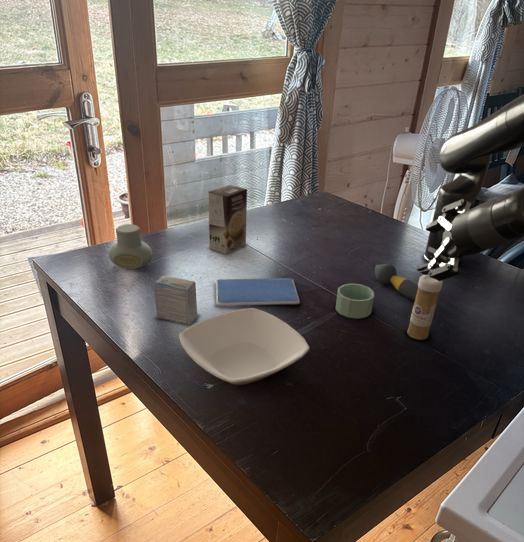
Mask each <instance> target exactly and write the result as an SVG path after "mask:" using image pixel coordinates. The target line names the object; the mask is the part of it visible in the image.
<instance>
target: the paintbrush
mask: <svg viewBox="0 0 524 542" xmlns="http://www.w3.org/2000/svg"><path fill="white" fill-rule="evenodd" d="M397 272H398V271H397V269H396V267H395V266H393V265H392V264H390V263H381V264H375V267H374V274H375V278H376V280H377V281H378V282H379V283H380V284H383V285H389V284H392V285H393V287H394V288H395V289H396V290H397V291H398V292H399V294H401V295H402V296H404V297H406V298H408V299H410V300H411V301H413V302H415V299H416V295H417V291H418V284H416V283H415V282H414V281H412V280H410V279H408V278H406V277H403V276H399V275H398V273H397Z"/></svg>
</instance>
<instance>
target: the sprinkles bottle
mask: <svg viewBox="0 0 524 542" xmlns="http://www.w3.org/2000/svg"><path fill="white" fill-rule="evenodd" d="M443 283H444V280H442V281H438V280H436V279H433V278H430V277H428V275H424V274H422V275H421V276H420V277H419V280H418V283H417V286H418V291H417V295H416V299H415V301H414V303H413V307H412V310H411V315H410V320H409V324H408V328H407V331H406V333H407V335H408V336H409V337H410V338H412V339H414V340H419V341H421V340H423V341H424V340H425V339H428V337H429V334H430V333H429V332H430V328H431V325H432V322H433V319H434V314H435V312H436V308H437V304H438V298H439V295H440V292H441V291H442V287H443Z"/></svg>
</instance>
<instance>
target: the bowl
mask: <svg viewBox="0 0 524 542" xmlns="http://www.w3.org/2000/svg"><path fill="white" fill-rule="evenodd" d="M178 338H179V342H180V345H181V346H182V349H184V351H185V352H186V354H187V355H188V356H189V357H190V358H191V360H193V361H194V363H196V364H197V365H198V366H200V367H201V368H202V369H204V370H205V371H206V372H208V373H209V374H211V375H212V376H214V377H216V378H218V379H220V380H222V381H224V382H227V383H229V384H231V385H234V386H244V385H248V384H252V383H255V382H259V381H261V380H263V379H265V378H268V377H269V376H272V375H274V374H276V373H277V372H279V371H281V370H283V369H285V368H287V367H289V366H291V365H292V364H294V363H295V362H297V361H299V360H300V359H302V358H303V357H304V356H305V355H307V353H308V352H309V351H310V345H309V344H308V343H307V341H306V339H305V338H304V336H303V335H301V334H300V333H299V332H298V331H297V330H296V329H294V328H293V327H292V326H291V325H289V323H286V322H284V321H283V320H282V319H280V318H279V317H276V316H275V315H273V314H271V313H268V312H266V311H265V310H260V309H258V308H255V307H250V308H241V309H236V310H231V311H228V312H223V313H219V314H215V315H213V316H211V317H208V318H205V319H203V320H201V321H198V322H196V323H194V324H192V325H190V326H188V327H187V328H185V329H184V330H182V332H180V333H179V335H178Z"/></svg>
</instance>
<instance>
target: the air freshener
mask: <svg viewBox="0 0 524 542" xmlns="http://www.w3.org/2000/svg"><path fill="white" fill-rule="evenodd" d="M115 234H116V235H115V236H116V242H115V243H114V244H113V245H112V246H111V247H110V249H109V251H108V258H109V261H111V263H112V264H113V265H114V266H116V267H118V268H121V269H124V270H127V271H134V270H137V269H140V268H142V267H145V266H146V265H148V264H149V263H150V262H151V260H152V258H153V250H152V247H151V246H150V245H149V244H148V243H147V242H145V241H142V236H141V235H142V234H141V228H140V227H139V225H136V224H132V223H131V224H130V223H129V224H127V223H126V224H121V225H119V226H117V227H116V229H115Z"/></svg>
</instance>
